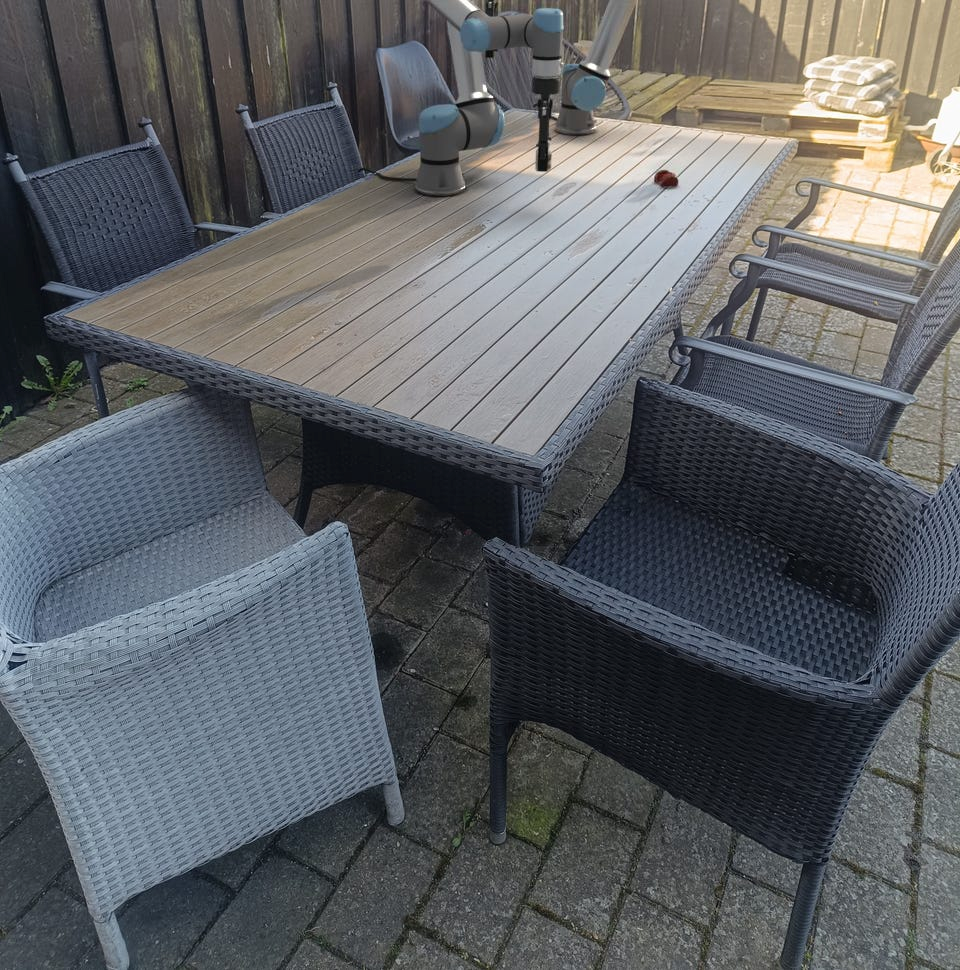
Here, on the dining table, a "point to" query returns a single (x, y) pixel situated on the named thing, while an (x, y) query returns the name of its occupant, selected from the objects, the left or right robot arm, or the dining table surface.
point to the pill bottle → (548, 159)
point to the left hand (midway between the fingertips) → (542, 168)
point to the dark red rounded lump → (666, 178)
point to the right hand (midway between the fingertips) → (491, 54)
